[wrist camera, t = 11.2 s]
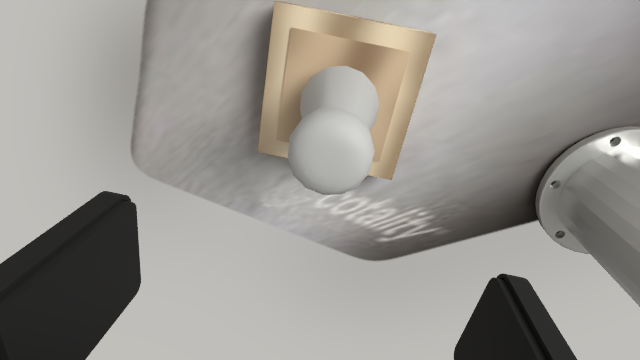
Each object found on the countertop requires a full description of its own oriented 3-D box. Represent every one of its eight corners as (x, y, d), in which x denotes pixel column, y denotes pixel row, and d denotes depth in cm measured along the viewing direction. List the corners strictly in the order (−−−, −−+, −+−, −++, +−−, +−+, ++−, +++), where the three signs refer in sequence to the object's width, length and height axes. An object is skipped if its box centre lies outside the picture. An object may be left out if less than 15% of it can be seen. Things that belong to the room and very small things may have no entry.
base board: (429, 32, 28) (436, 34, 26) (389, 166, 34) (391, 180, 31) (282, 1, 29) (273, 1, 26) (265, 140, 34) (256, 152, 31)
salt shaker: (348, 146, 30) (342, 235, 18) (291, 108, 29) (246, 175, 17) (392, 89, 28) (417, 149, 16) (332, 45, 27) (311, 73, 15)
